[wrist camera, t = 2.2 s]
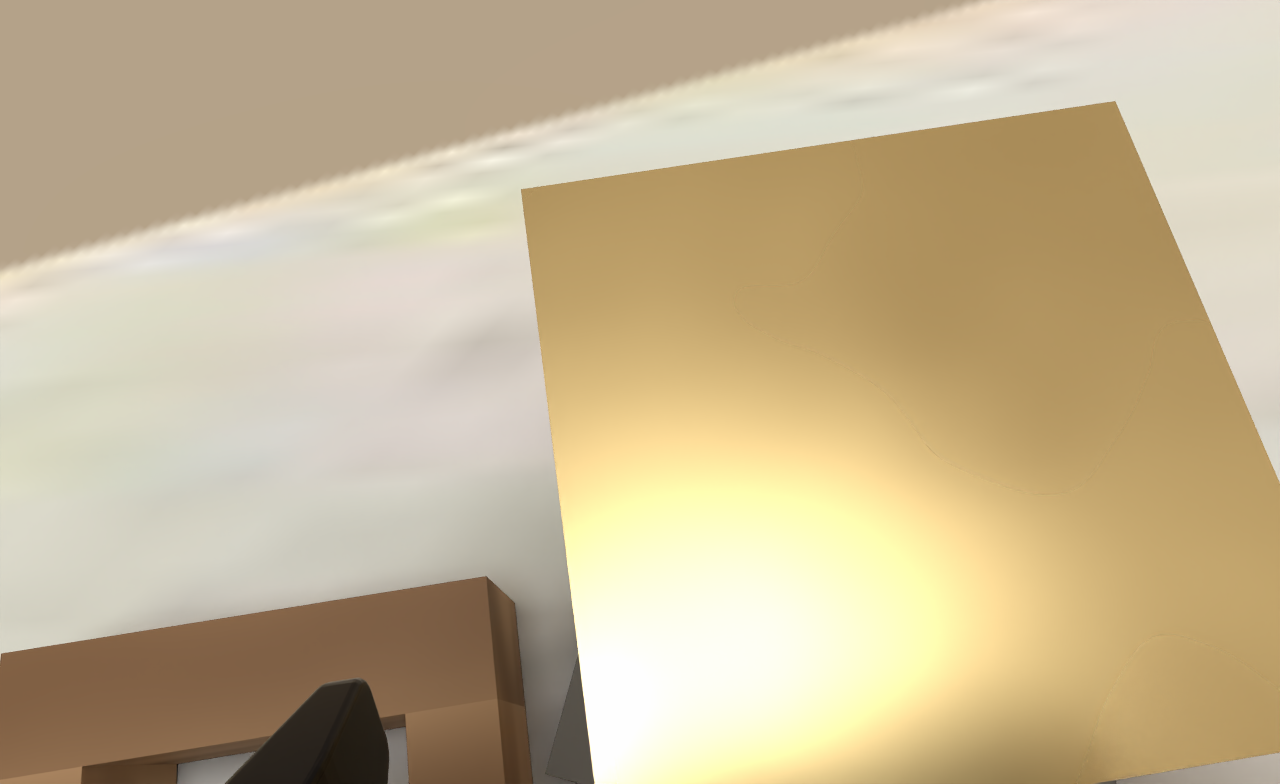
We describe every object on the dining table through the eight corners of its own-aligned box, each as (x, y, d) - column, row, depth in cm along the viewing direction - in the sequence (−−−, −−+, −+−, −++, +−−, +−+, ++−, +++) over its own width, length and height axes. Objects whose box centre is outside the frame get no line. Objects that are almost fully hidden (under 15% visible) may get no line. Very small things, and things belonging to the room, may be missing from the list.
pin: (868, 746, 17) (1387, 734, 5) (653, 782, 17) (605, 865, 4) (819, 534, 18) (1115, 101, 6) (621, 565, 18) (521, 189, 6)
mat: (1095, 931, 16) (1105, 935, 15) (547, 773, 17) (545, 773, 17) (1132, 409, 19) (1141, 402, 19) (675, 309, 21) (675, 301, 20)
